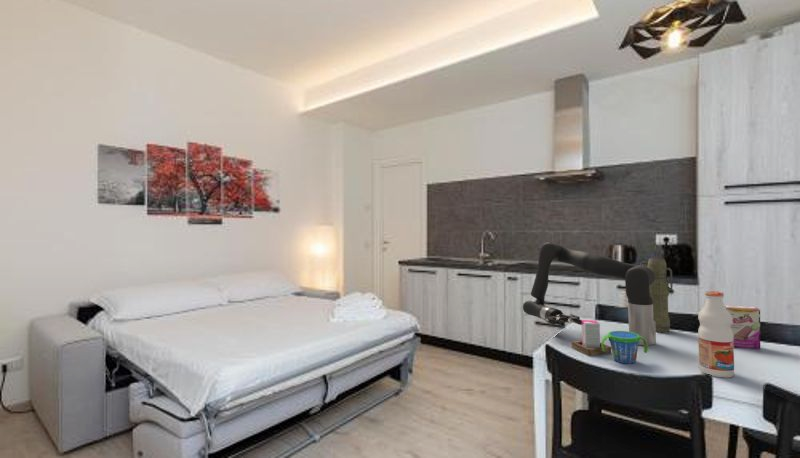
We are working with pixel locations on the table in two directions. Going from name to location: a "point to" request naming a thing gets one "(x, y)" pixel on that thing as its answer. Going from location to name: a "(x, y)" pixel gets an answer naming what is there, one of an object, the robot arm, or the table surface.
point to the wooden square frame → (590, 349)
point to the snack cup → (624, 345)
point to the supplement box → (590, 333)
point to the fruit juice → (715, 337)
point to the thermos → (660, 293)
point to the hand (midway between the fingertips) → (572, 323)
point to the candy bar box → (745, 326)
